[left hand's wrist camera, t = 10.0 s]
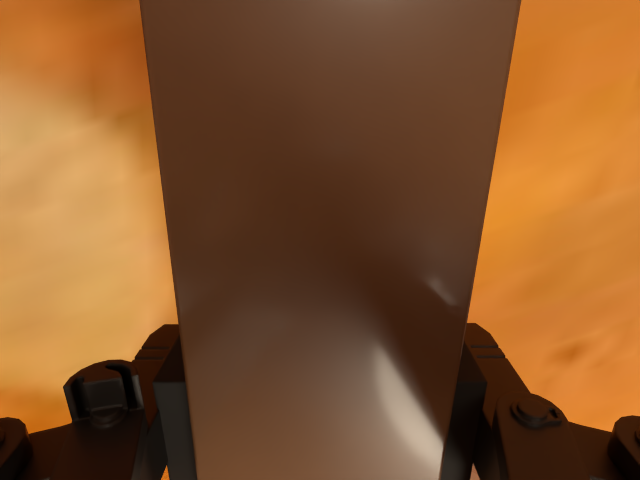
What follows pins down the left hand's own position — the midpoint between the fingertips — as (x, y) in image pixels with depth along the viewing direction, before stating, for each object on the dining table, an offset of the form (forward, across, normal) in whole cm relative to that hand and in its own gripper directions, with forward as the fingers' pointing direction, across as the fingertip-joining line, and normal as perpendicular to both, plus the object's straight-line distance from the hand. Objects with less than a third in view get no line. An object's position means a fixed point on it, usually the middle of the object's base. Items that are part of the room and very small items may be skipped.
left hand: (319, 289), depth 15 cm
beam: (+1, 0, -22) cm, 22 cm away
